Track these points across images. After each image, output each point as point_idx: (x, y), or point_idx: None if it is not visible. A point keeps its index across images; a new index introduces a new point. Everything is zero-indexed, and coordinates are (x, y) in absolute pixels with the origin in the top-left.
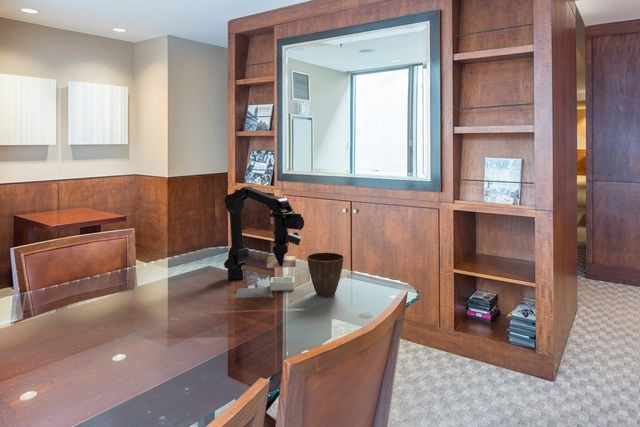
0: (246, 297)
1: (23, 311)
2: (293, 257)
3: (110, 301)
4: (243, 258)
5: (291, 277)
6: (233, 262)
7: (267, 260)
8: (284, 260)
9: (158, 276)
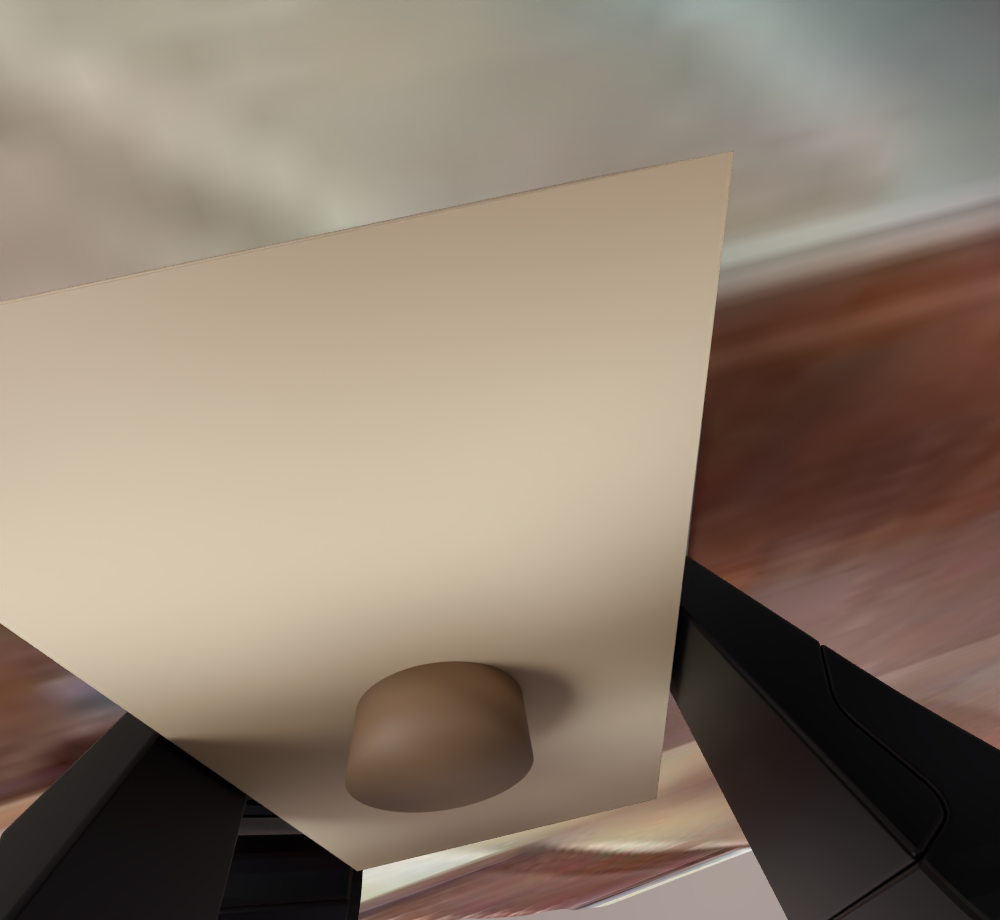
0: (686, 551)
1: (691, 865)
2: (139, 422)
3: (645, 825)
4: (260, 896)
5: None
6: (361, 872)
7: (640, 798)
8: (677, 591)
9: (376, 868)
